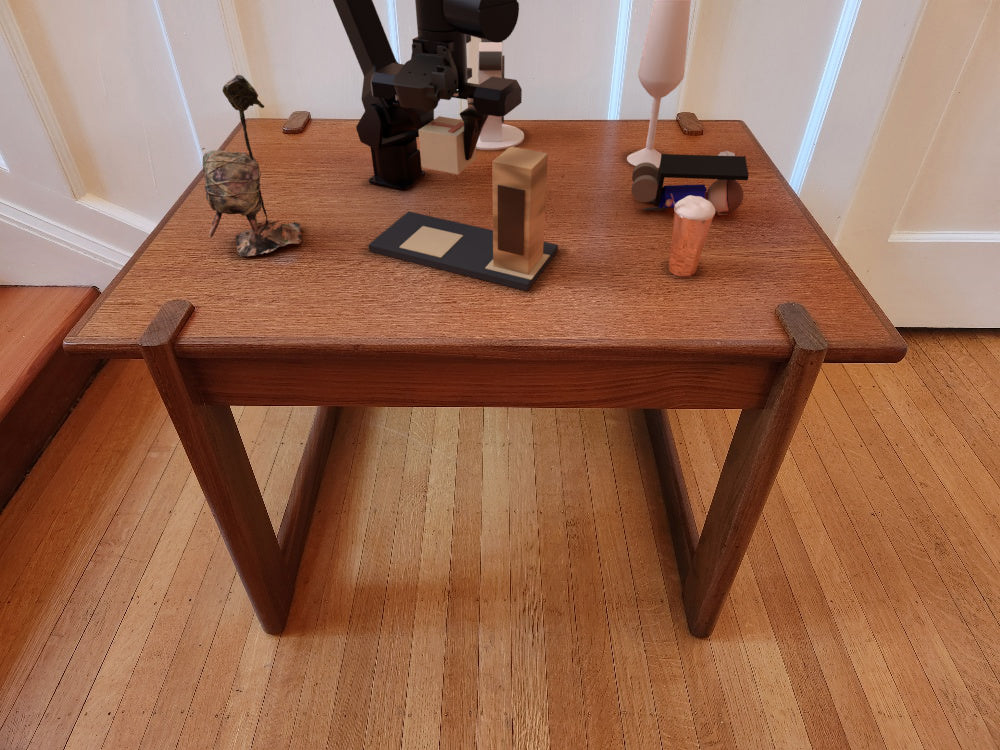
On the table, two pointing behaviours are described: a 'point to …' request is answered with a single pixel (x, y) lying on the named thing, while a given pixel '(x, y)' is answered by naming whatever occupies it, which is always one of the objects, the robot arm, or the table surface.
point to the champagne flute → (662, 64)
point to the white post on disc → (493, 129)
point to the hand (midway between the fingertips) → (448, 155)
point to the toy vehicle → (720, 193)
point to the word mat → (453, 249)
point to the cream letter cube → (444, 146)
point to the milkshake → (689, 233)
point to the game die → (726, 154)
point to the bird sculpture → (243, 185)
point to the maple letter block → (519, 208)
